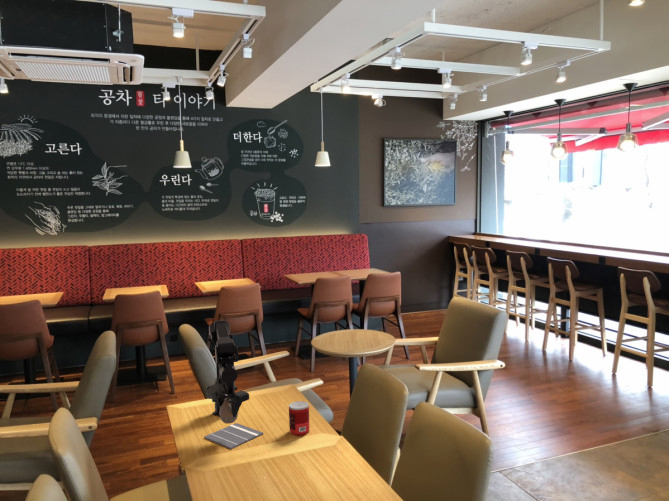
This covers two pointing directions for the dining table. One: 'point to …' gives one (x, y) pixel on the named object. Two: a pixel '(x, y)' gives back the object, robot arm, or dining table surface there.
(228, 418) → the vase
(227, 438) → the mat
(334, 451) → the dining table surface
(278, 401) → the dining table surface
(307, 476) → the dining table surface
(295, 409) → the canned food
